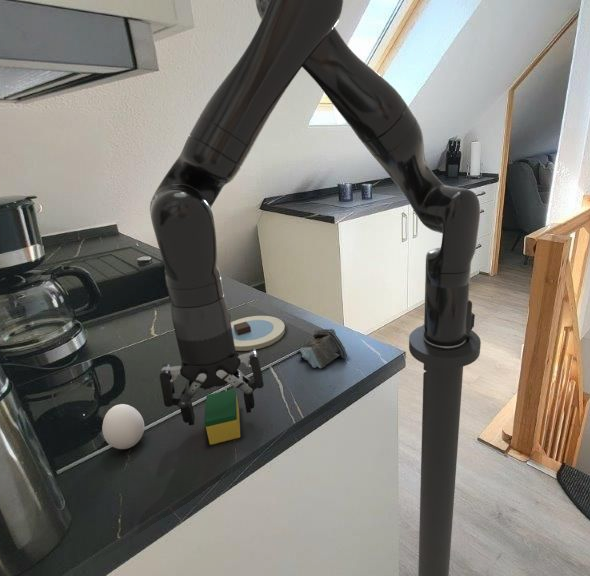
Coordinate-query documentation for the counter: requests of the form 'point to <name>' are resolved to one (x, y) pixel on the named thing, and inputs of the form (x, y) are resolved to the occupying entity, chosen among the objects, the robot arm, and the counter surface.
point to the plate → (258, 332)
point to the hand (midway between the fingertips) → (221, 415)
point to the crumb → (242, 328)
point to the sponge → (222, 417)
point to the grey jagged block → (323, 348)
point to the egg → (122, 426)
